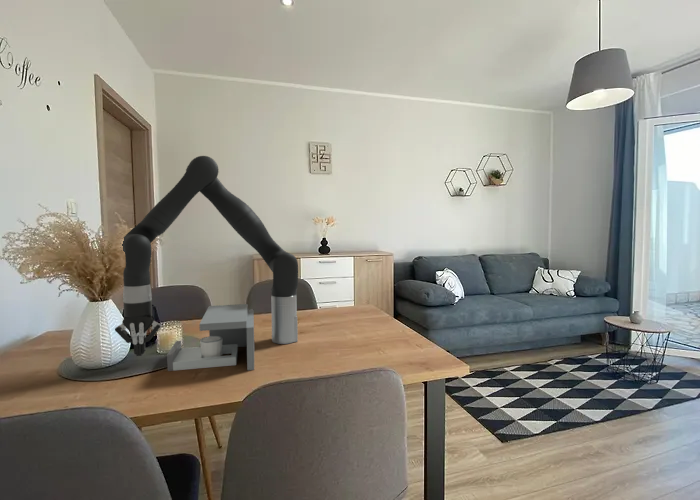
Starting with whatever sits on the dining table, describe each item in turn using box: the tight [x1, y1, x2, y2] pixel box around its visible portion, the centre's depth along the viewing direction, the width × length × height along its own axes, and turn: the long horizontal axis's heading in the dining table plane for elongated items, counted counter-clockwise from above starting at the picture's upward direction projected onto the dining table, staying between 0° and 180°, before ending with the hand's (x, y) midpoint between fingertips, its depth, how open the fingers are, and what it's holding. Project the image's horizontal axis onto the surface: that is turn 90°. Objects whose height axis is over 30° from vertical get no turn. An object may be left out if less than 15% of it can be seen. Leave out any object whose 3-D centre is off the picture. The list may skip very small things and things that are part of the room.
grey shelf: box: [199, 303, 255, 371], centre depth 121 cm, size 15×24×15 cm, turn 14°
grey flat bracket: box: [166, 340, 239, 372], centre depth 119 cm, size 20×13×5 cm, turn 104°
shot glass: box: [199, 336, 223, 358], centre depth 119 cm, size 7×7×7 cm
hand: (139, 355), depth 115 cm, fingers closed
